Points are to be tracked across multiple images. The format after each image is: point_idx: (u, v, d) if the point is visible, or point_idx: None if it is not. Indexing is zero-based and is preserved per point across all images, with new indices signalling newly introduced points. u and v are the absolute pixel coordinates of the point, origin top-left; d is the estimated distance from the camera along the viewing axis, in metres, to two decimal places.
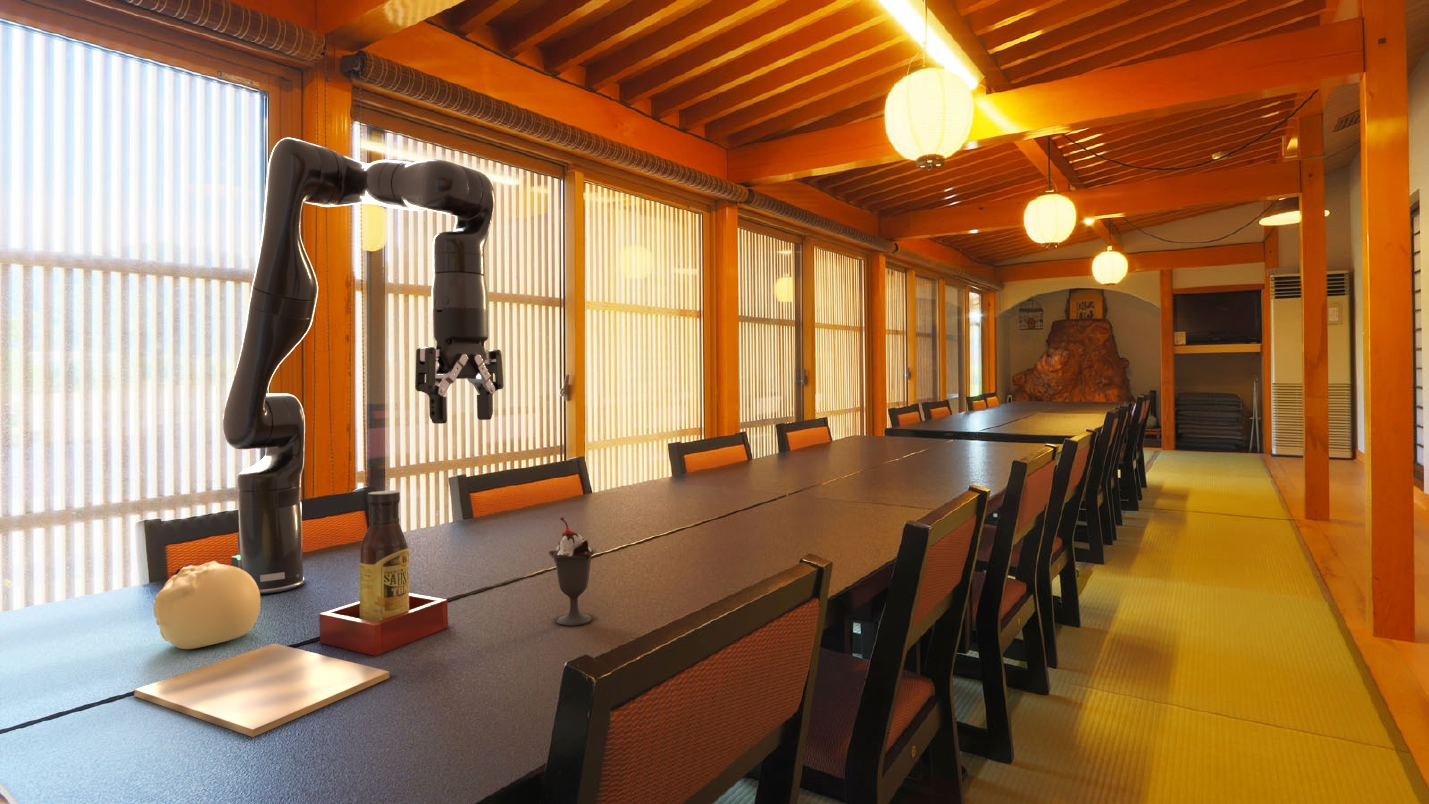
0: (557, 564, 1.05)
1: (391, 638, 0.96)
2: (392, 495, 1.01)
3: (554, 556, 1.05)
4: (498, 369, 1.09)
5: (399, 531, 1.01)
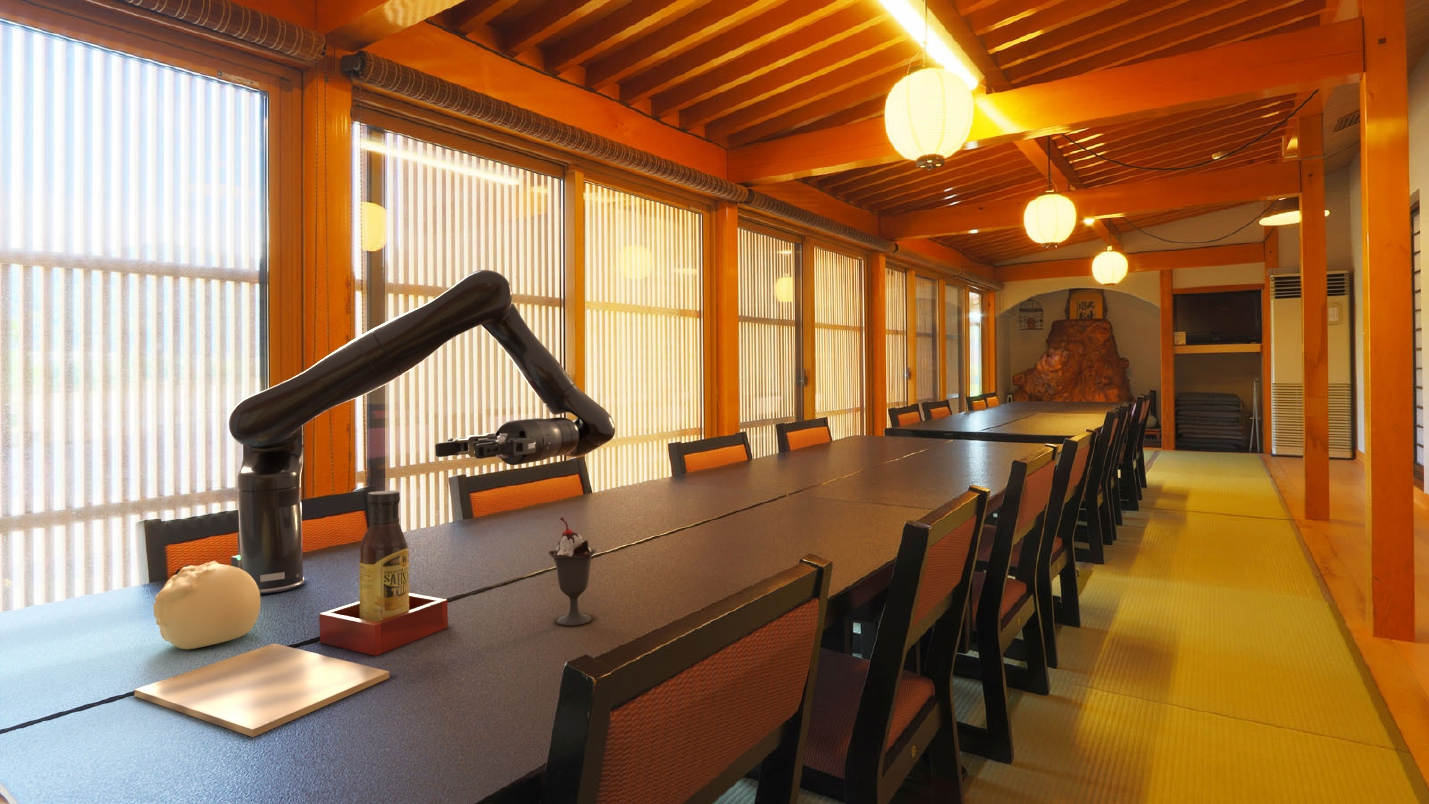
0: (557, 564, 1.05)
1: (391, 638, 0.96)
2: (392, 494, 1.01)
3: (554, 556, 1.05)
4: None
5: (399, 531, 1.01)
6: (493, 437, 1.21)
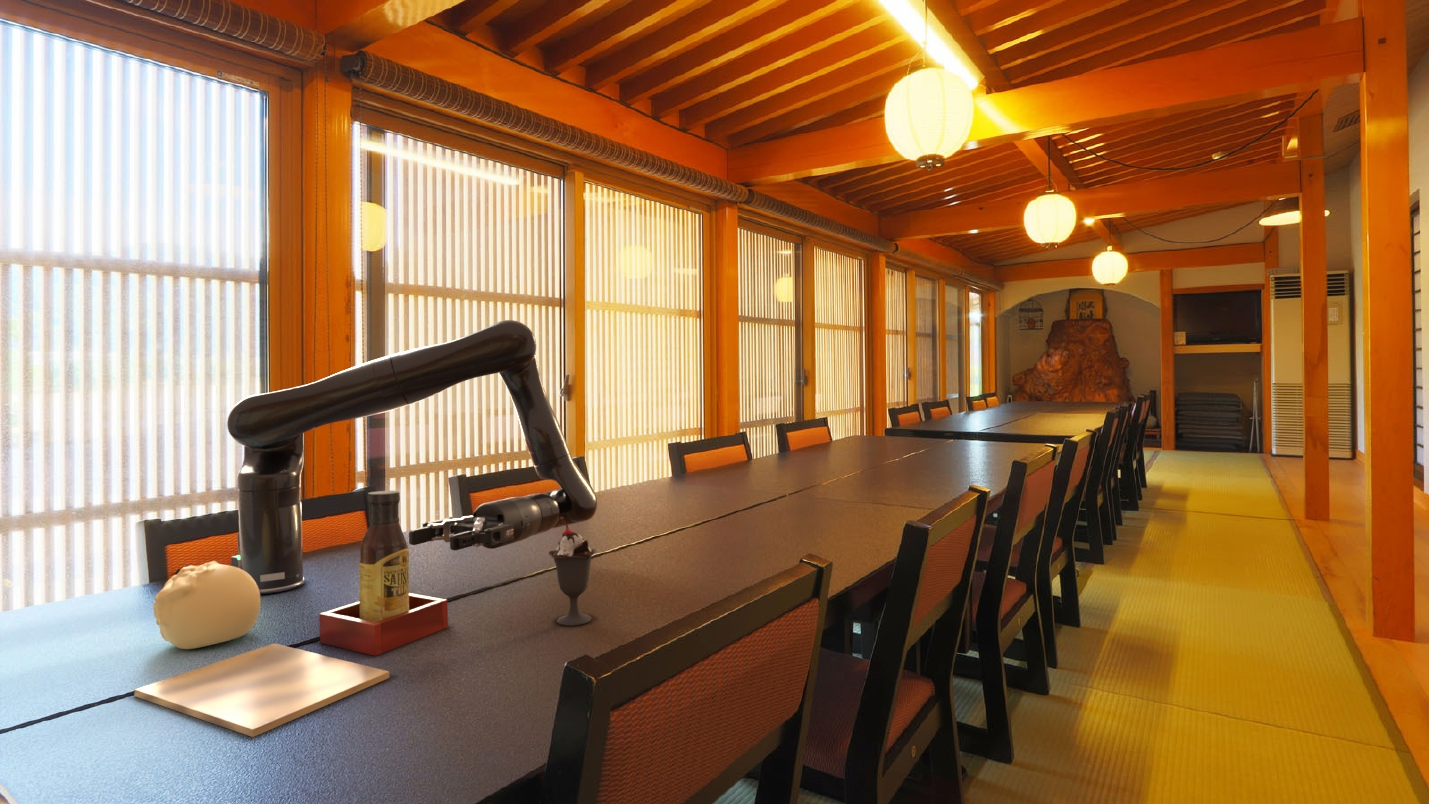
0: (557, 564, 1.05)
1: (391, 638, 0.96)
2: (392, 494, 1.01)
3: (554, 556, 1.05)
4: (441, 535, 1.18)
5: (399, 531, 1.01)
6: (470, 521, 1.17)
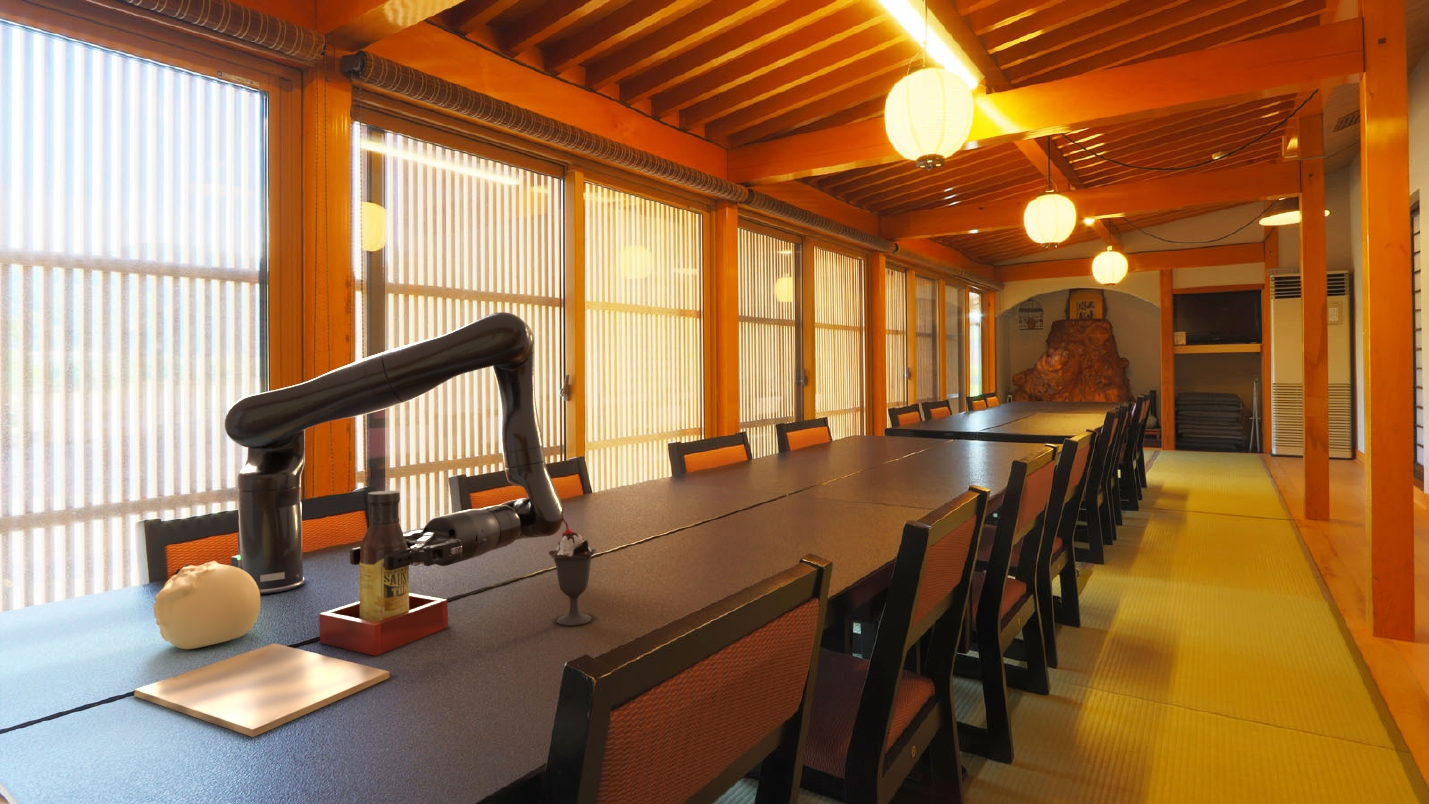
0: (557, 564, 1.05)
1: (391, 638, 0.96)
2: (392, 495, 1.01)
3: (554, 556, 1.05)
4: None
5: (399, 531, 1.01)
6: (418, 537, 1.08)
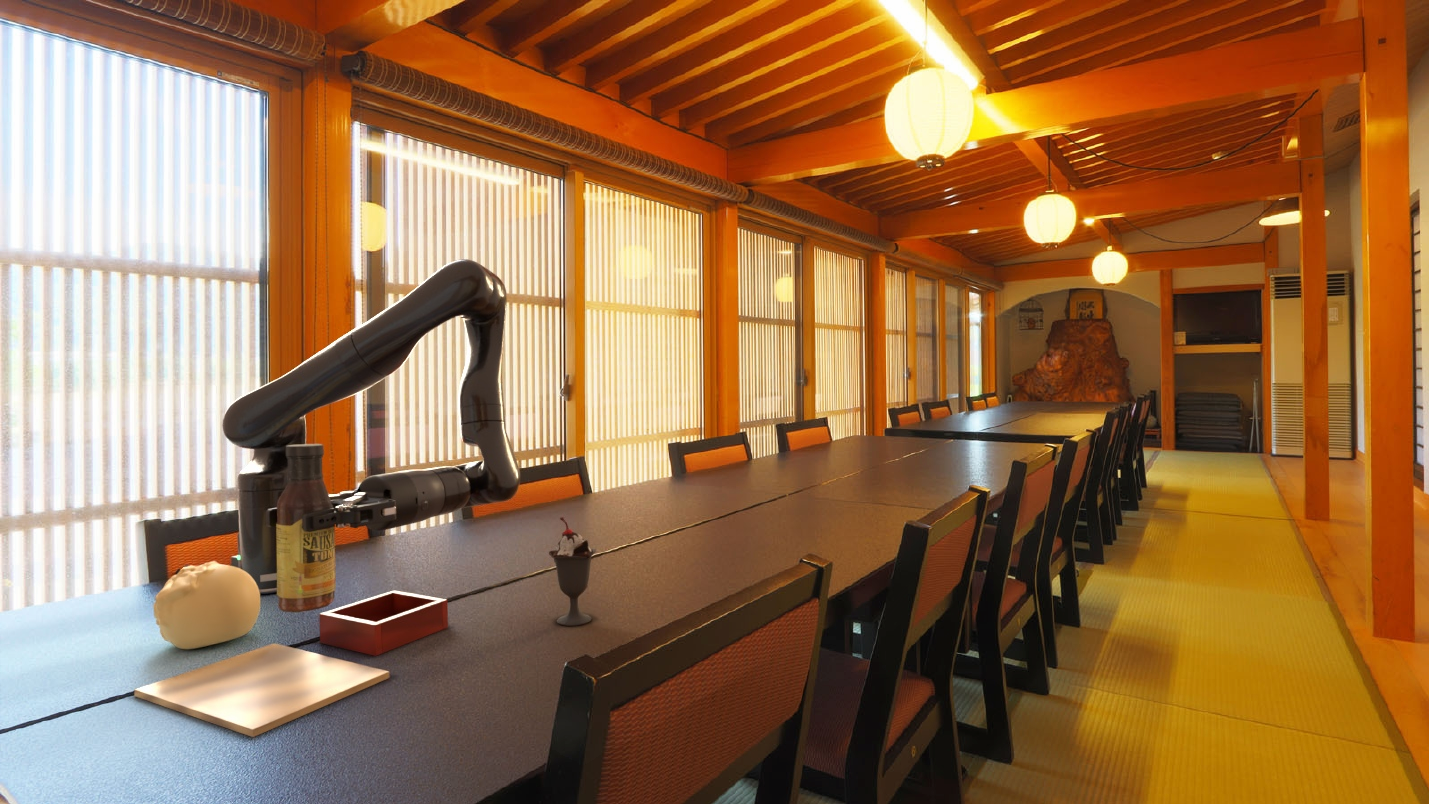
0: (557, 564, 1.05)
1: (391, 638, 0.96)
2: (314, 447, 0.89)
3: (554, 556, 1.05)
4: None
5: (322, 489, 0.90)
6: (349, 498, 0.96)
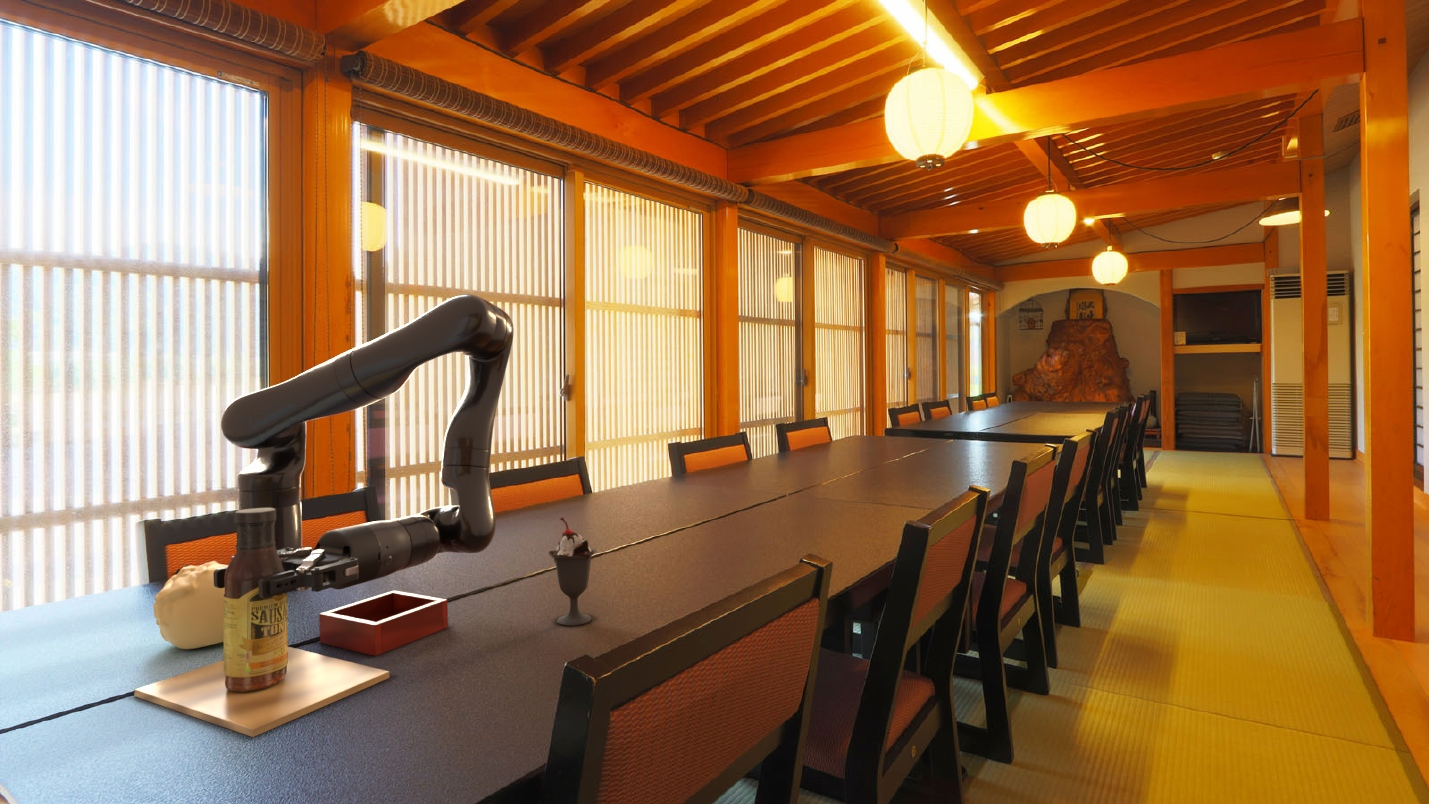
0: (557, 564, 1.05)
1: (391, 638, 0.96)
2: (265, 513, 0.83)
3: (554, 556, 1.05)
4: None
5: (274, 557, 0.84)
6: (305, 555, 0.90)
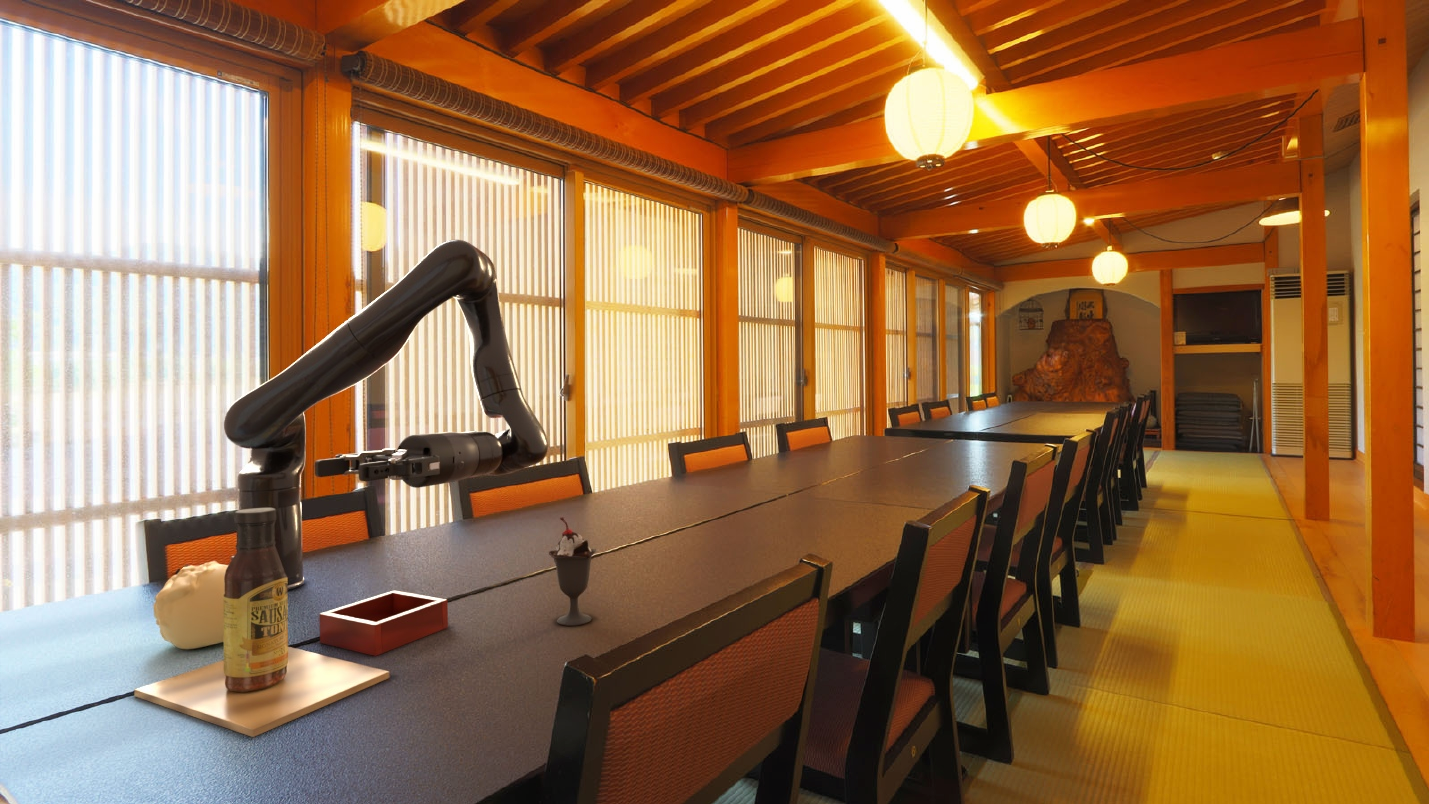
0: (557, 564, 1.05)
1: (391, 638, 0.96)
2: (265, 513, 0.83)
3: (554, 556, 1.05)
4: None
5: (274, 557, 0.84)
6: (391, 454, 1.01)
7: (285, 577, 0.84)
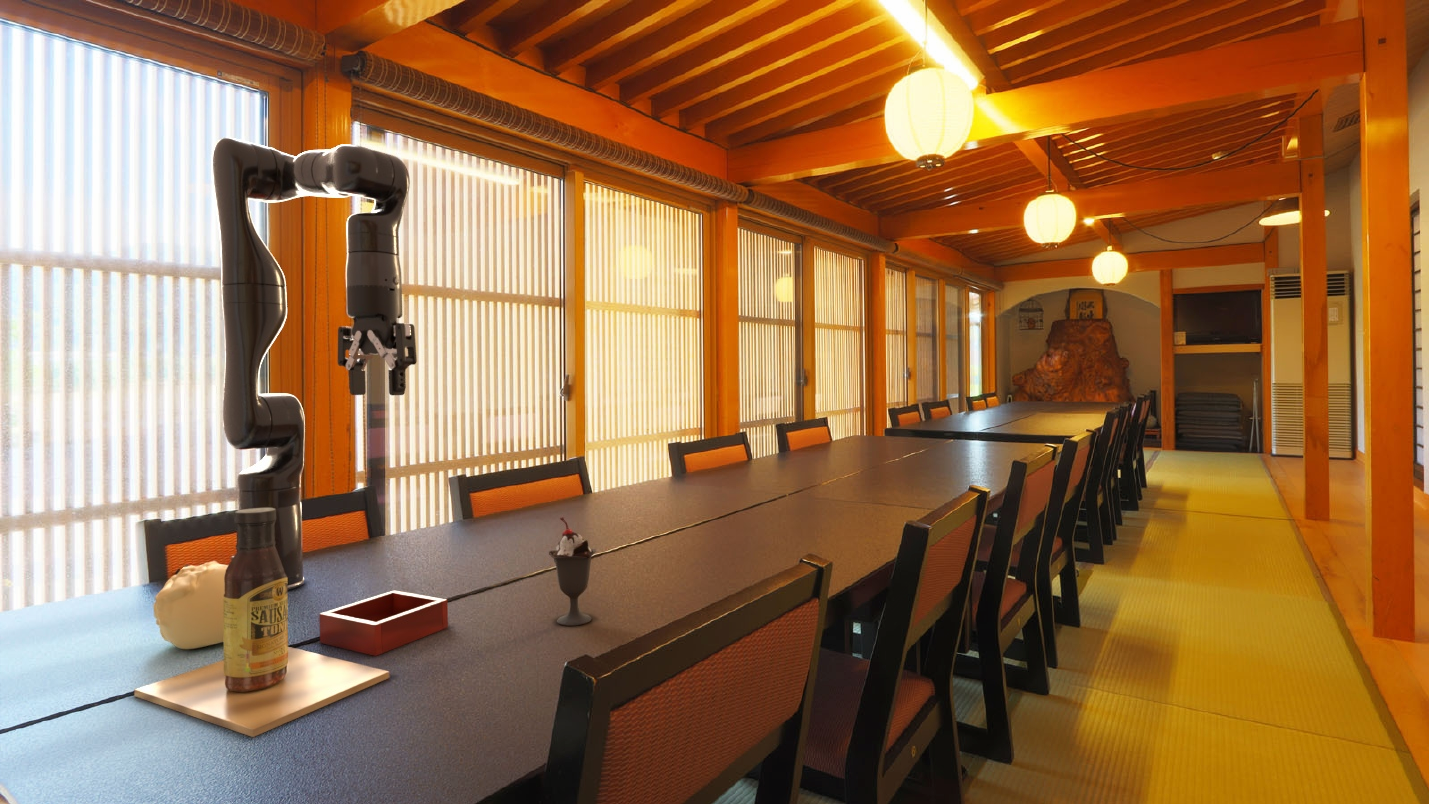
0: (557, 564, 1.05)
1: (391, 638, 0.96)
2: (265, 513, 0.83)
3: (554, 556, 1.05)
4: None
5: (274, 557, 0.84)
6: (364, 337, 1.09)
7: (285, 577, 0.84)
